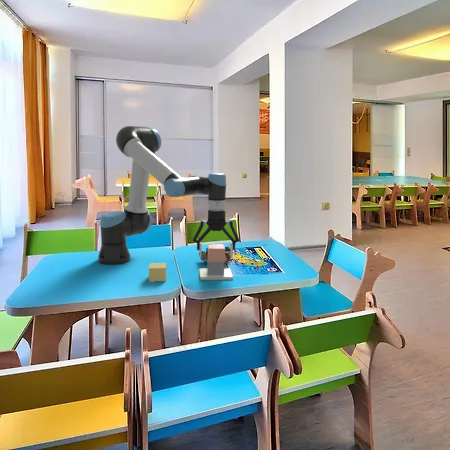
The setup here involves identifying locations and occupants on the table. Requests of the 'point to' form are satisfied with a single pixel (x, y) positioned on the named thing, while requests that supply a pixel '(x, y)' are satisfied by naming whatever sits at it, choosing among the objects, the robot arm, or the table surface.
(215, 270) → the grey cube
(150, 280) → the brick mustard
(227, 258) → the figurine character
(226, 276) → the build plate
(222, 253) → the pinkish brown cube
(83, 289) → the table surface
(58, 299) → the table surface
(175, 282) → the table surface
